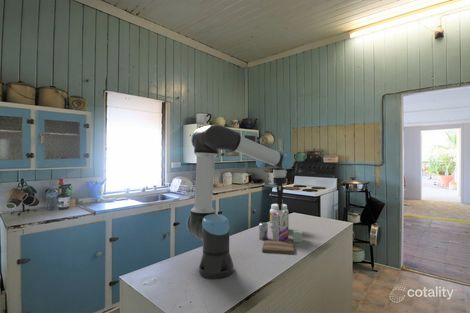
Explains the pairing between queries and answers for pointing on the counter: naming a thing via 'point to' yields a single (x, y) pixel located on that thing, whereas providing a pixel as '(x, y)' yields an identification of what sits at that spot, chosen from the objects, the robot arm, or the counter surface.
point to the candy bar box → (280, 226)
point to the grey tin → (263, 231)
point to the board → (278, 247)
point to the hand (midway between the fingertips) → (280, 212)
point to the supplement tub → (274, 209)
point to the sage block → (297, 236)
